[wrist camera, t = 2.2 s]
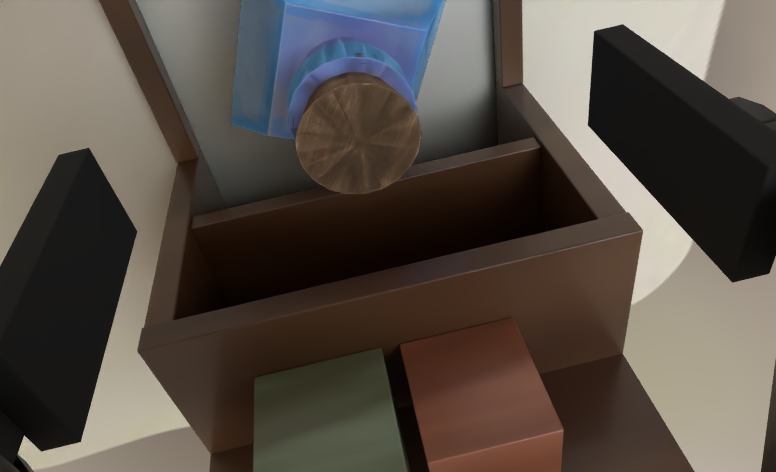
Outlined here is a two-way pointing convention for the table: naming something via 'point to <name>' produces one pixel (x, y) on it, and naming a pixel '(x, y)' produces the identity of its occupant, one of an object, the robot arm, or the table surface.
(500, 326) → the desk rack
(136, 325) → the table surface
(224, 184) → the table surface
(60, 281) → the robot arm
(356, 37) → the perfume bottle
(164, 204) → the table surface
